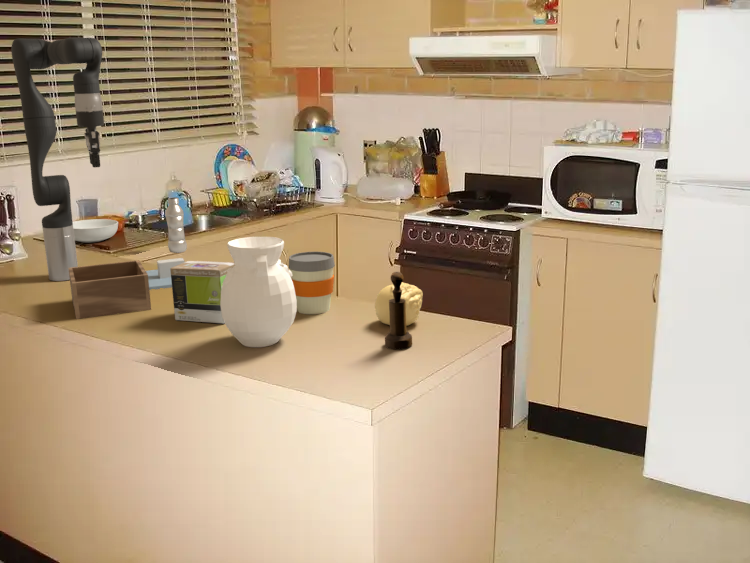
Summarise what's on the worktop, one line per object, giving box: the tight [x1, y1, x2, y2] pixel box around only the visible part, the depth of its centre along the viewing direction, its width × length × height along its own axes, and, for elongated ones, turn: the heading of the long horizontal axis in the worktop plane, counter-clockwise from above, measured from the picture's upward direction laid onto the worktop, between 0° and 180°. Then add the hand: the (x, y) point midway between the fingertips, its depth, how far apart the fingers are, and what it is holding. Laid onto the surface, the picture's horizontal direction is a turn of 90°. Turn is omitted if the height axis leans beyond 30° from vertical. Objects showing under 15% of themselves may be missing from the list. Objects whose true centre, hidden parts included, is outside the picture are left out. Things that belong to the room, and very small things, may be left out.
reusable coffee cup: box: [287, 251, 336, 315], centre depth 233 cm, size 13×13×15 cm
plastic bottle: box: [164, 196, 188, 254], centre depth 307 cm, size 6×7×20 cm
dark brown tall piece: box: [384, 271, 413, 350], centre depth 201 cm, size 7×6×18 cm
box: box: [68, 259, 152, 320], centre depth 243 cm, size 20×20×10 cm
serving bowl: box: [72, 218, 119, 244], centre depth 335 cm, size 21×21×7 cm
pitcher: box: [220, 236, 298, 348], centre depth 206 cm, size 19×18×25 cm
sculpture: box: [374, 282, 424, 327], centre depth 219 cm, size 12×12×11 cm
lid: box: [145, 257, 186, 291], centre depth 272 cm, size 22×22×7 cm
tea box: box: [170, 260, 235, 324], centre depth 228 cm, size 15×10×15 cm
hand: (95, 165), depth 251 cm, fingers open, 8 cm apart
